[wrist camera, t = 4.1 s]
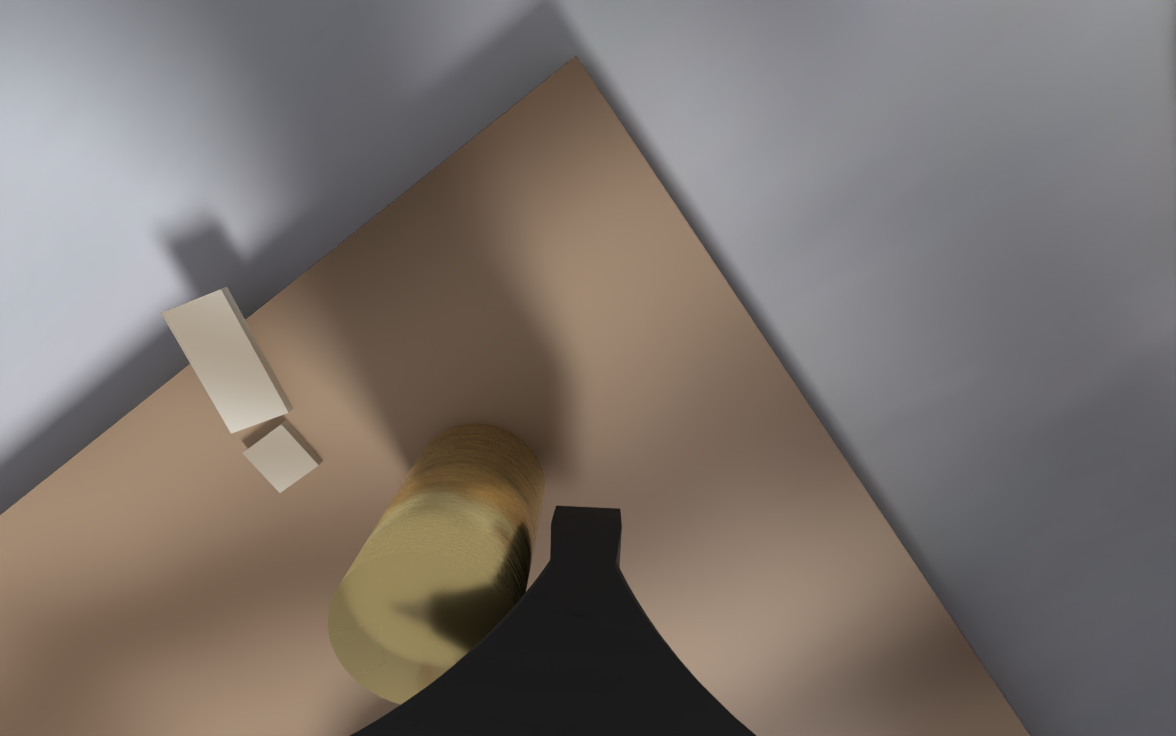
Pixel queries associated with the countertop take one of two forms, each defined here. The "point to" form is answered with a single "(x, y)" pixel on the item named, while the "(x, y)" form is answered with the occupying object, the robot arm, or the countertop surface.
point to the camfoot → (440, 561)
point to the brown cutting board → (464, 396)
